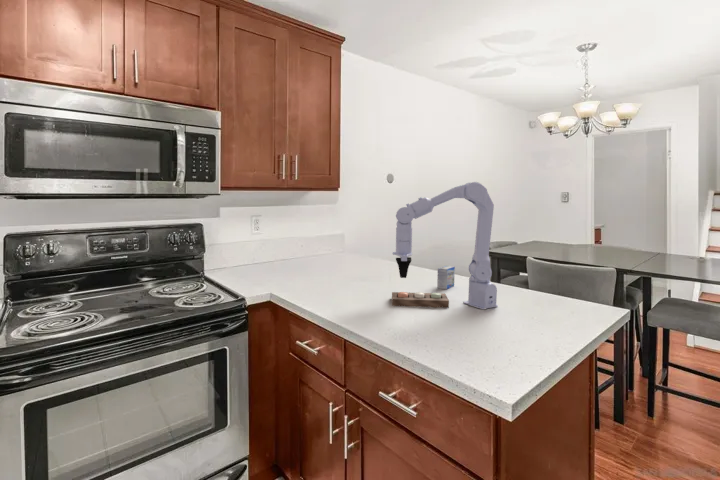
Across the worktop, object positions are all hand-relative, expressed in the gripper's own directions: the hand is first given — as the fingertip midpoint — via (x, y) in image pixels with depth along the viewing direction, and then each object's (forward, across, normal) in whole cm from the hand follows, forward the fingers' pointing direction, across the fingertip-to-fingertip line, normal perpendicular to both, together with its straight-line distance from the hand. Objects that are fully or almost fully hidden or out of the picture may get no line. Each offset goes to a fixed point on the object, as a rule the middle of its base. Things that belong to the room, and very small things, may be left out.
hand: (403, 277), depth 144 cm
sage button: (+9, 0, +12) cm, 15 cm away
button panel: (+9, 0, +6) cm, 11 cm away
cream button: (+9, 0, +6) cm, 11 cm away
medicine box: (+10, -26, +19) cm, 34 cm away
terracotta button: (+9, 0, 0) cm, 9 cm away
